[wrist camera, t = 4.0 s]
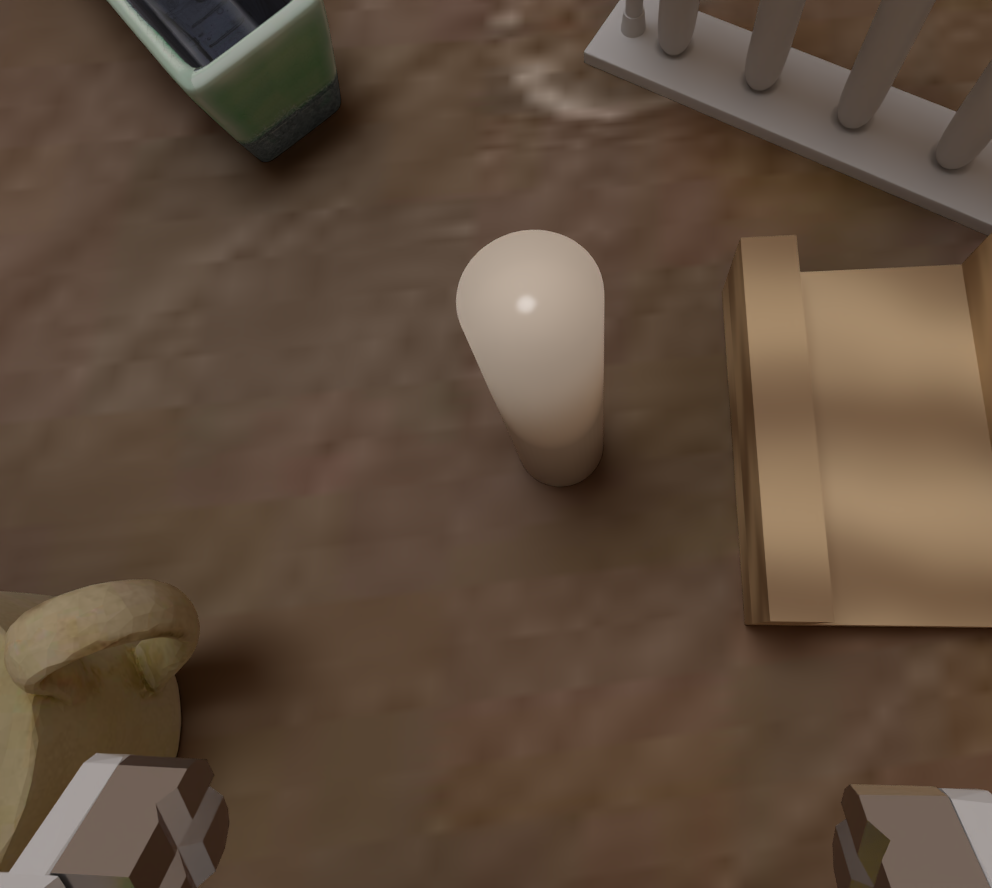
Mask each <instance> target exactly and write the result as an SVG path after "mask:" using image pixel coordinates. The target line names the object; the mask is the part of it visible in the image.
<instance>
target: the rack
mask: <svg viewBox="0 0 992 888" xmlns="http://www.w3.org/2000/svg"><path fill="white" fill-rule="evenodd" d="M722 301H723V315H724V330H725V344H726V359H727V373H728V388H729V403H730V417H731V432H732V446H733V461H734V475H735V490H736V505H737V519H738V534H739V548H740V563H741V578H742V592H743V607H744V621H745V625H799V626H876V627H953V628H992V233H991V234H990V235H989V236H988V237H987V238H986V239H985V240H984V241H983V242H982V243H981V244H980V245H979V246H978V248H977V249H976V250H975V251H974V252H973V253H972V254H971V255H970V256H969V257H968V258H967V259H966V260H965V261H964V262H963V263H962V264H959V265H939V266H918V267H898V268H877V269H857V270H837V271H816V272H800V267H799V257H798V247H797V237H796V235H782V236H764V237H746V238H740V241H739V244H738V247H737V250H736V253H735V255H734V258H733V261H732V264H731V267H730V270H729V273H728V276H727V279H726V282H725V285H724V288H723V291H722Z"/></svg>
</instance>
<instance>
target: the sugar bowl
mask: <svg viewBox="0 0 992 888" xmlns="http://www.w3.org/2000/svg"><path fill="white" fill-rule="evenodd" d="M199 634H200V625H199V620H198V615H197V612H196V610H195V608H194V606H193V604H192V603H191V601H190V600H189V599H188V598H187V596H186V595H185V594H184V593H183V592H181V591H180V590H179V589H178V588H176V587H174V586H172V585H170V584H167V583H163V582H160V581H156V580H150V579H133V580H121V581H111V582H106V583H100V584H95V585H90V586H87V587H84V588H80V589H77V590H74V591H71V592H67V593H65V594H62V595H59V596H48V595H39V594H30V593H19V592H8V591H0V872H9V871H10V870H11V868H12V867H13V865H14V864H15V862H16V861H17V859H18V858H19V856H20V855H21V853H22V852H23V851H24V849H25V848H26V846H27V845H28V843H29V842H30V840H31V839H32V837H33V836H34V834H35V833H36V831H37V830H38V829H39V827H40V826H41V824H42V823H43V821H44V820H45V818H46V817H47V815H48V814H49V812H50V811H51V810H52V808H53V807H54V805H55V804H56V802H57V801H58V799H59V798H60V796H61V795H62V793H63V792H64V790H65V789H66V788H67V786H68V785H69V783H70V782H71V780H72V779H73V777H74V776H75V774H76V773H77V771H78V770H79V768H80V767H81V766H82V764H83V763H84V762H85V761H87V760H88V759H89V758H91V757H92V756H93V755H95V754H96V753H107V754H131V755H142V756H159V757H176V756H177V752H178V746H179V739H180V731H181V707H180V696H179V689H178V684H177V680H176V677H175V674H176V673H177V672H178V671H179V670H180V669H181V668H182V666H183V665H184V664H185V663H186V662H187V661H188V660H189V659H190V657H191V656H192V654H193V653H194V650H195V648H196V646H197V643H198V639H199Z"/></svg>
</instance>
